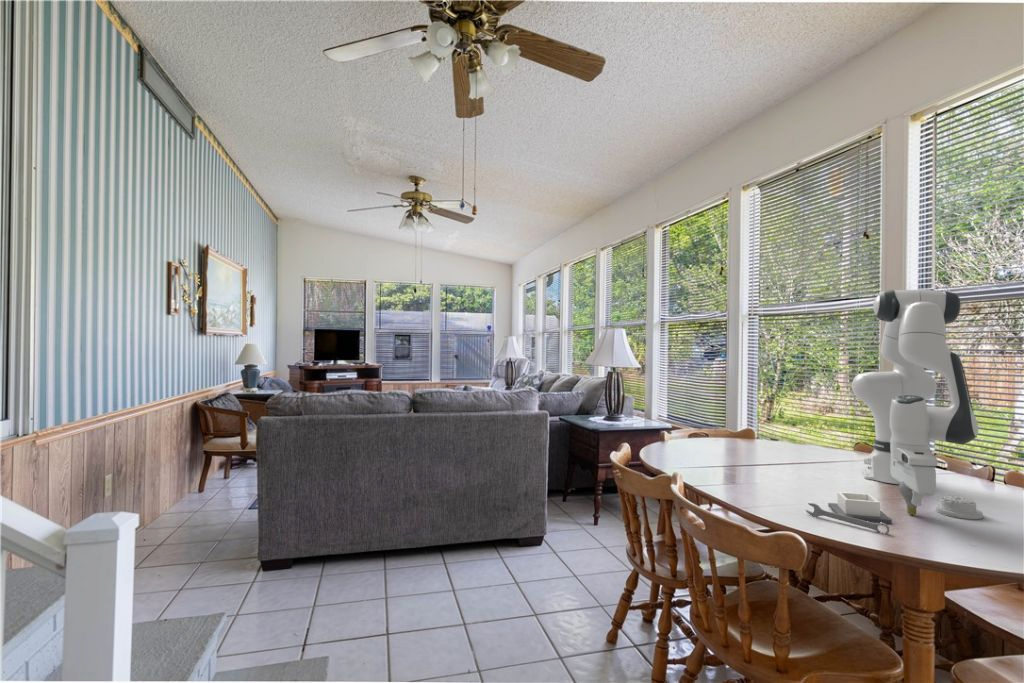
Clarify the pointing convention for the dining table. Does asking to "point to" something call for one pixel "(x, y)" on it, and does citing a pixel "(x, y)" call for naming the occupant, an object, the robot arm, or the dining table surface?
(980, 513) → the mechanical component
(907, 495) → the light bulb
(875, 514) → the lamp base
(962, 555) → the dining table surface
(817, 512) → the combination wrench
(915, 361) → the robot arm
